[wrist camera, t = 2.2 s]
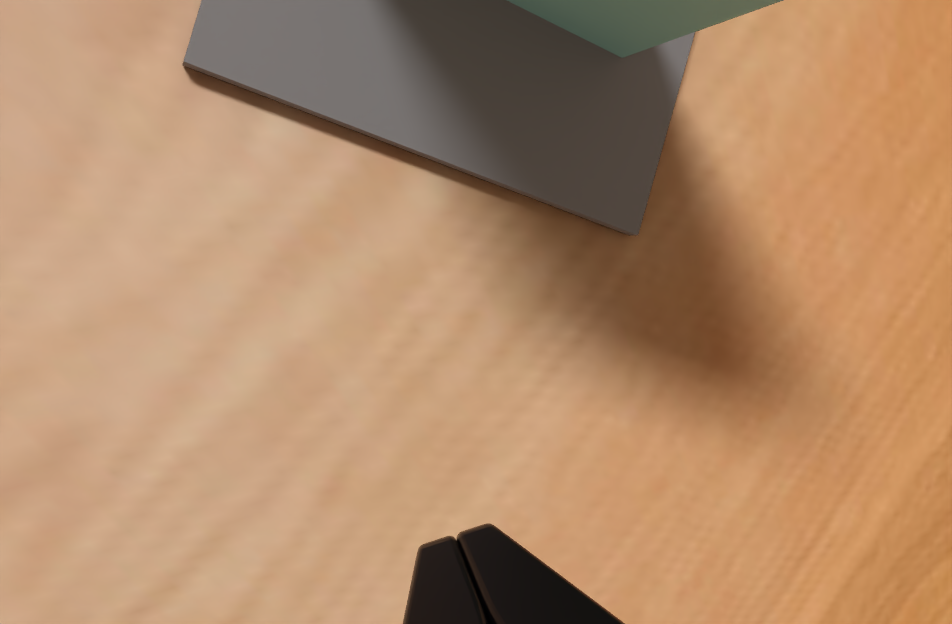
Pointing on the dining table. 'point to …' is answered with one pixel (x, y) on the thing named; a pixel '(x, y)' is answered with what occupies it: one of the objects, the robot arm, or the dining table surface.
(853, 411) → the dining table surface
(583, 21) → the teal board
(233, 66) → the mat
